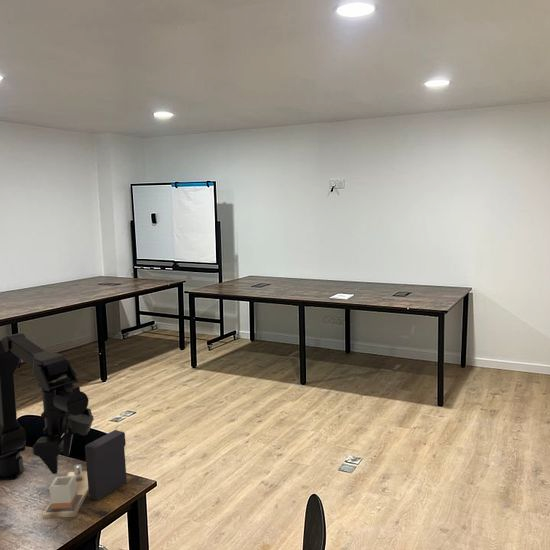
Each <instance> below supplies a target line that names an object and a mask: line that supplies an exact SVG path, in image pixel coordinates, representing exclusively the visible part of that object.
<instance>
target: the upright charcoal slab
mask: <svg viewBox="0 0 550 550" xmlns="http://www.w3.org/2000/svg"><path fill="white" fill-rule="evenodd" d="M126 444H127V443H126V432H125V431H121V430H117V429H114V430H112V431H110V432H109V433H107V434H105V435H103V436H101V437H99V438H97V439H95V440H93V441H92V442H89V443H87V444H86V445H85V446H84V453H85V454H84V455H85V463H86V464H85V465H86V466H85V467H86V471H87V478H88V490H89V492H88V498H89V499H91V500H93V501H100V500H101V499H103V498H105V497H106V496H107V495H109V494H110V493H112V492H113V491H115V490H116V489H118V488H119V487H122V486H123V485H125V484H126V483H127V480H128V479H127V467H126V455H125V454H126V452H125V447H126Z"/></svg>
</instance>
